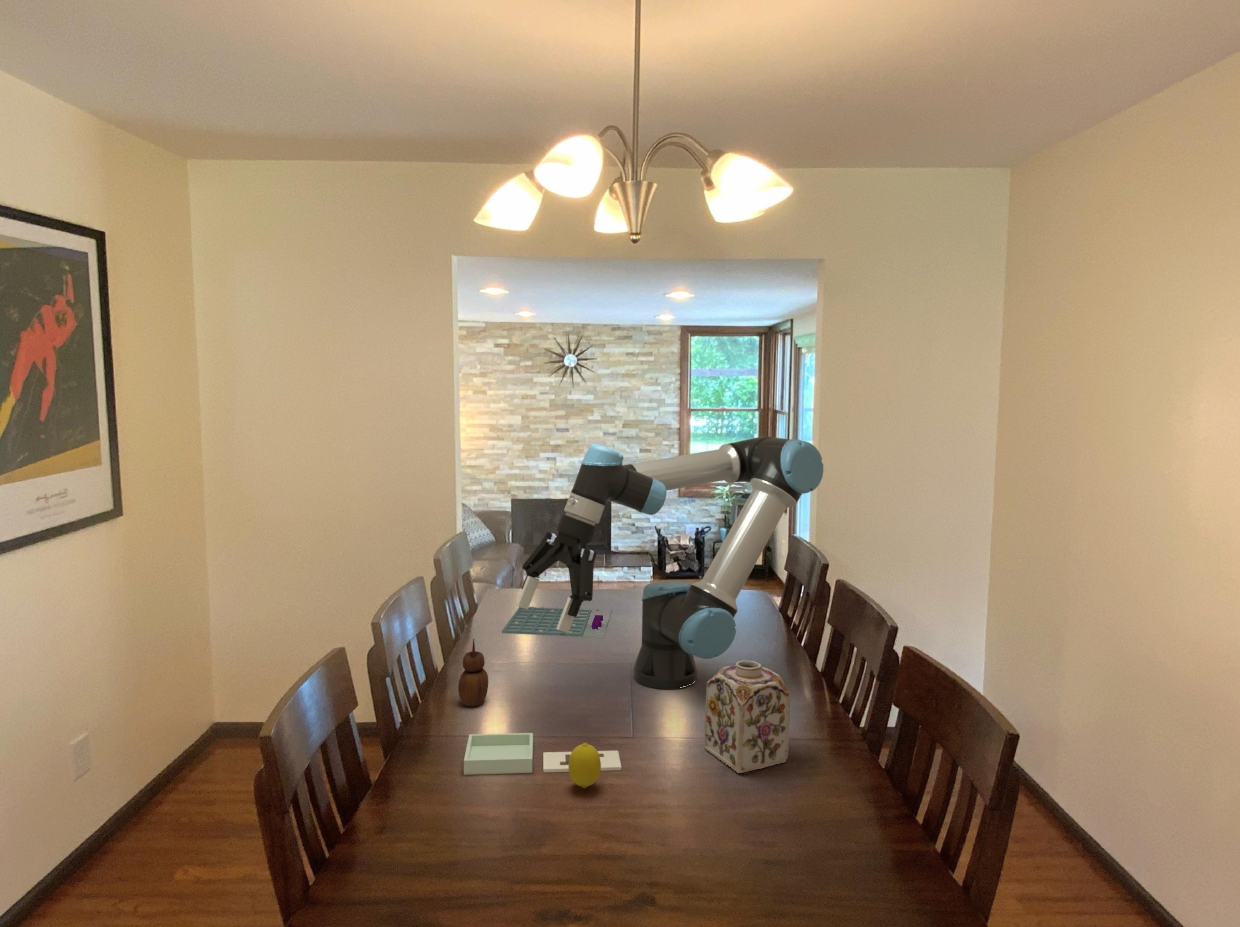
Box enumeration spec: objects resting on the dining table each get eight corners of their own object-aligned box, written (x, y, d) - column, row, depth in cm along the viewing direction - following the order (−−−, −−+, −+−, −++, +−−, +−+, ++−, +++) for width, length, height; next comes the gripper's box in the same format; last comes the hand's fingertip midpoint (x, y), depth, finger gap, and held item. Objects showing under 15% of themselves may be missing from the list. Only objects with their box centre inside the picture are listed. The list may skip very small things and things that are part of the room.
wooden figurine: (480, 711, 164) (480, 642, 162) (454, 708, 165) (454, 639, 163) (491, 698, 170) (492, 632, 169) (467, 696, 171) (467, 630, 170)
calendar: (521, 608, 243) (521, 600, 243) (612, 611, 241) (612, 604, 240) (501, 635, 216) (501, 627, 215) (603, 640, 214) (603, 631, 213)
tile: (617, 753, 146) (617, 749, 146) (621, 770, 140) (621, 766, 140) (543, 755, 145) (543, 751, 144) (543, 772, 138) (543, 768, 138)
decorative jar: (737, 776, 138) (741, 679, 137) (701, 749, 149) (704, 658, 147) (790, 763, 144) (794, 669, 142) (752, 737, 154) (755, 649, 152)
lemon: (567, 780, 136) (568, 736, 135) (599, 779, 136) (600, 735, 135) (568, 796, 130) (569, 751, 129) (601, 796, 131) (602, 750, 130)
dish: (532, 745, 148) (532, 732, 148) (532, 772, 138) (532, 758, 138) (469, 747, 147) (469, 734, 147) (463, 774, 137) (463, 760, 137)
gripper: (530, 499, 163) (493, 595, 161) (607, 530, 145) (566, 638, 143) (556, 509, 168) (520, 601, 166) (633, 540, 150) (594, 644, 148)
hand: (541, 618), depth 155 cm, fingers open, 13 cm apart
